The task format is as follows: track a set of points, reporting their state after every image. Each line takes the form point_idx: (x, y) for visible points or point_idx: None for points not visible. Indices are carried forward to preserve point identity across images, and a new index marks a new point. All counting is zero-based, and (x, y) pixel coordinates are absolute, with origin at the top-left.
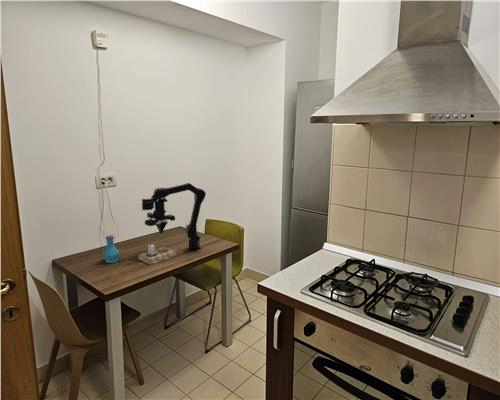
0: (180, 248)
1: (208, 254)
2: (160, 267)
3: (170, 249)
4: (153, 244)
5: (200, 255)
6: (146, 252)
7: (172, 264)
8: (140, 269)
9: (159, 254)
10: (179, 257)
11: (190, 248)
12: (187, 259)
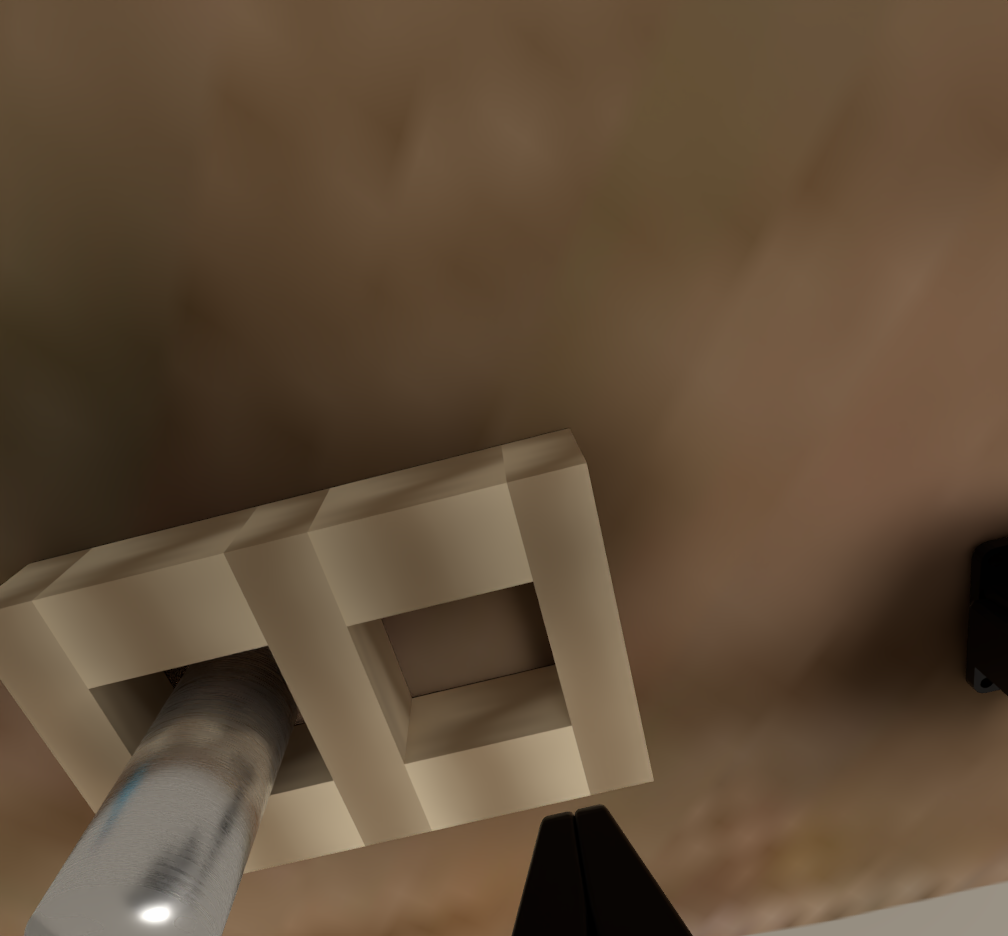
0: (896, 461)
1: (989, 865)
2: (286, 928)
3: (625, 673)
4: (185, 929)
5: (894, 849)
6: (142, 584)
7: (450, 918)
8: (26, 880)
9: (350, 784)
10: (640, 785)
11: (974, 649)
12: (683, 878)
